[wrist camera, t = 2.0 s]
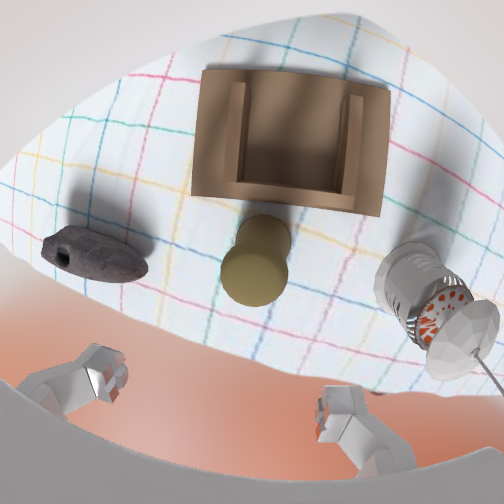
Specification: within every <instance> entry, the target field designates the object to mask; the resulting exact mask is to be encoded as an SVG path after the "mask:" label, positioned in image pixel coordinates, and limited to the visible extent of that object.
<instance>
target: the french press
mask: <svg viewBox="0 0 504 504" xmlns="http://www.w3.org/2000/svg"><path fill="white" fill-rule="evenodd" d="M444 267H445V266H443V265H442V264H441V262H440V259H439V257H438V256H437V254H436V252H435V251H434V249H433V248H431V247H429V246H427V245H425V244H424V243H406V244H404V245H402V246H400V247H397V248H395V249H394V250H393V251H392V252H391V253H390V254H389V255H388V256H387V257H386V258H385V259H384V260H383V261H382V263H381V265H380V267H379V269H378V271H377V273H376V275H375V283H374V293H375V297H376V301H377V303H378V305H379V306H380V307H381V308H382V309H383V310H384V311H385V312H386V313H389V314H391V315H394V316H396V317H397V318H398V317H399V318H400V319H399V318H398V320H399V322H400V323H401V325H402V327H403V328H404V330H405V331H406V332H407V334H408V335H409V334H410V335H412V336H414V337H415V338H413V337H410V336H409V337H410V338H411V340H412V341H413V342H414V343H415V344H418V345H419V346H420V348H421V349H423V350H426V351H427V354H426V366H427V372H428V373H429V375H430V376H431V377H432V378H433V379H434V380H439V381H443V382H445V381H449V380H454V379H457V378H460V377H462V376H464V375H466V374H468V373H470V372H471V371H472V370H473V369H474V368H475V367H476V366H477V365H478V364H479V363H480V364H481V365H482V366H483V368H484V369H485V370H486V372H487V373H488V375H489V376H490V377H491V379H492V380H493V381H494V383H495V384H496V386H497V387H498V388H499V390H500V391H501V393H502V394H503V396H504V390H503V388H502V387H501V386H500V384H499V383H498V381H497V380H496V379H495V377H494V376H493V375H492V373H491V372H490V371H489V369H488V368H487V367H486V365H485V364H484V363H483V362H482V360H483V359H484V358H485V357H486V356H487V355H488V354H489V352H490V350H491V348H492V346H493V344H494V342H495V339H496V336H497V334H498V331H499V322H500V314H499V312H498V309H497V306H496V305H495V304H494V303H492V302H490V301H489V300H479V301H474V298H473V296H472V294H471V292H470V290H469V289H467V286H466V285H465V283H464V281H463V280H462V279H461V278H460V277H458V276H457V275H456V274H454V273H453V272H452V271H451V272H450V270H449V269H447V268H446V267H445V268H444ZM443 268H444V269H443ZM446 269H447V270H446ZM445 276H446V283H444V282H443V281H444V277H445ZM449 276H451V281H452V283H451V286H448V285H449ZM453 276H454V277H455V278H456V282H457V285H455V284H454V277H453ZM457 278H458V279H459V280H460V281H461V283H462V285H460V283H459V280H458V279H457ZM415 317H417V320H415V321H410V322H406V321H407V319H413V318H415ZM413 324H415V327H407V326H406V325H413ZM407 329H409V330H411V331H414V333H415V334H413V333H411V332H409V331H407Z"/></svg>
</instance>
